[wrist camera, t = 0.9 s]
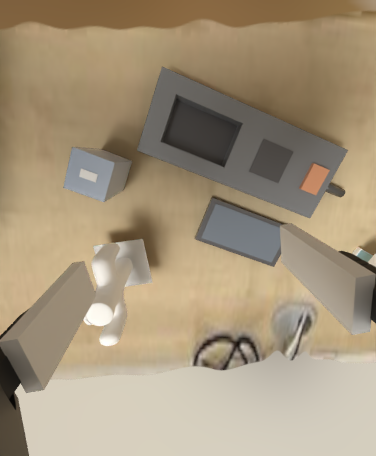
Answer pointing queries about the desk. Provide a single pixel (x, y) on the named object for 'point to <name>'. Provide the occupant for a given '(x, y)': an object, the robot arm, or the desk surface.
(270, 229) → the phone
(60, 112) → the desk surface
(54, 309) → the robot arm
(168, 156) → the power strip
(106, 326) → the figurine
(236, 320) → the desk surface
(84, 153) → the brick
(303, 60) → the desk surface
